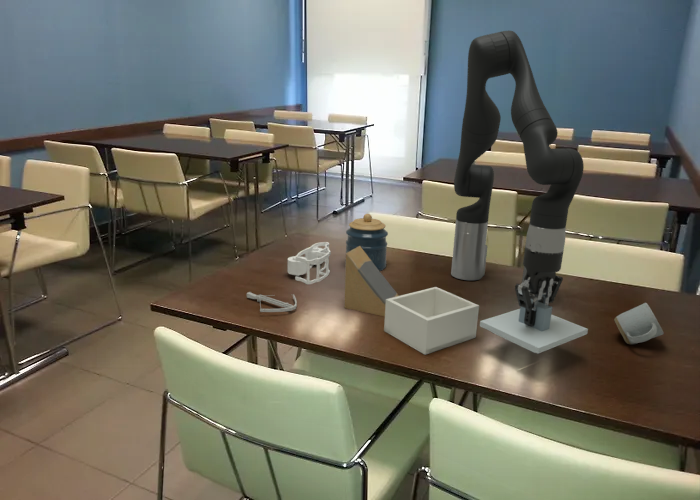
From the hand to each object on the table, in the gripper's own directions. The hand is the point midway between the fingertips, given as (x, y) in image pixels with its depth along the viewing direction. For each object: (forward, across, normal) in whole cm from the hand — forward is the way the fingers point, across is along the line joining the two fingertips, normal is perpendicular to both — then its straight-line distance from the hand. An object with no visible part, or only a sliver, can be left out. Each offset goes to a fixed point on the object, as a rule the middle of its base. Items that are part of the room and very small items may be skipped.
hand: (533, 323), depth 117 cm
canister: (+7, -4, -65) cm, 66 cm away
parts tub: (+7, +12, -19) cm, 24 cm away
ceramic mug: (+7, -24, +11) cm, 28 cm away
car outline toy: (+8, +12, -70) cm, 71 cm away
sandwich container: (+8, +13, -38) cm, 41 cm away
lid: (+2, 0, 0) cm, 2 cm away
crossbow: (+8, +35, -55) cm, 65 cm away
